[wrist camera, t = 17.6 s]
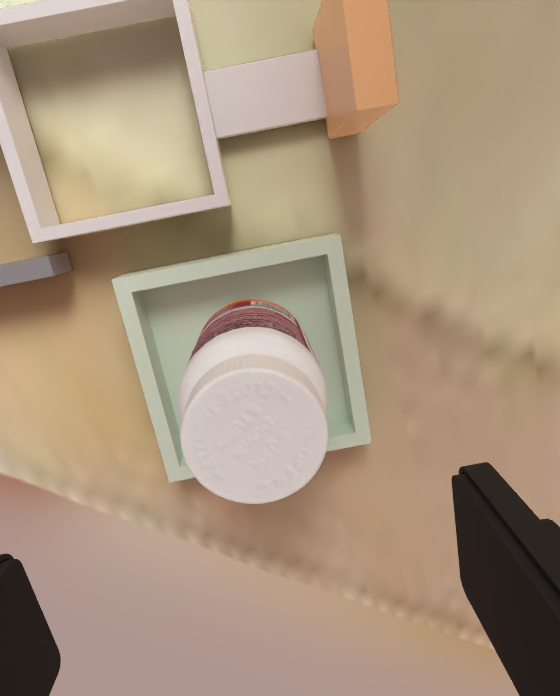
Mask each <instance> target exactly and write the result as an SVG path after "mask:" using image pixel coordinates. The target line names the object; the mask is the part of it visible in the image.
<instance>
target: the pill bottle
mask: <svg viewBox="0 0 560 696" xmlns="http://www.w3.org/2000/svg"><path fill="white" fill-rule="evenodd" d="M327 405H328V395H327V387H326V382H325V379H324V376H323V373H322V370H321V368H320V366H319V363H318V361H317V359H316V357H315V355H314V353H313V351H312V349H311V347H310V344H309V342H308V339H307V337H306V335H305V332H304V331H303V329H302V327H301V325H300V324H299V322H298V321H297V319H296V318H295V317H294V316H293V315H292V314H291V313H290V312H289V311H288V310H287V309H285V308H284V307H282V306H280V305H278V304H277V303H274V302H272V301H268V300H264V299H256V298H249V299H242V300H238V301H234V302H232V303H229V304H227V305H225V306H223V307H222V308H220V309H219V310H218V311H217V312H215V313H214V314H213V315H212V316H211V317H210V319H209V320H208V321H207V323H206V324H205V326H204V328H203V329H202V331H201V334H200V336H199V338H198V341H197V343H196V345H195V348H194V349H193V351H192V354H191V357H190V360H189V362H188V364H187V367H186V369H185V372H184V374H183V377H182V380H181V383H180V387H179V395H178V408H179V414H180V419H181V422H182V424H181V431H180V444H181V449H182V453H183V457H184V460H185V462H186V464H187V466H188V468H189V470H190V471H191V473H192V474H193V475H194V477H195V478H196V479H197V480H198V482H199V483H200V484H202V485H203V486H204V487H205V488H206V489H208V490H209V491H211V492H212V493H214V494H215V495H218V496H220V497H222V498H224V499H227V500H230V501H234V502H238V503H244V504H264V503H269V502H274V501H277V500H280V499H283V498H285V497H288V496H290V495H292V494H293V493H295V492H297V491H298V490H300V489H301V488H302V487H304V486H305V485H306V484H307V483H308V482H309V481H310V480H311V479H312V478H313V476H314V475H315V474H316V472H317V471H318V469H319V468H320V466H321V464H322V462H323V460H324V457H325V454H326V450H327V446H328V435H329V434H328V424H327V419H326V412H327Z"/></svg>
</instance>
